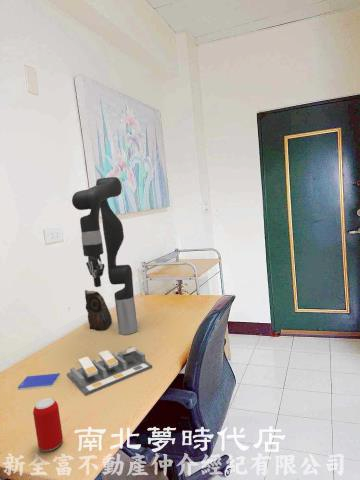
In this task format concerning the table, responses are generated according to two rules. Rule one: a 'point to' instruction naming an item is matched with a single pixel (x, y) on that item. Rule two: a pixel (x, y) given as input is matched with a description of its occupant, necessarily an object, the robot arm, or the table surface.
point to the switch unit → (109, 372)
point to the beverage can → (47, 424)
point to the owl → (97, 311)
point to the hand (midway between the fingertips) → (97, 286)
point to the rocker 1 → (87, 366)
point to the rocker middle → (108, 359)
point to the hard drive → (39, 381)
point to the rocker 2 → (127, 351)
